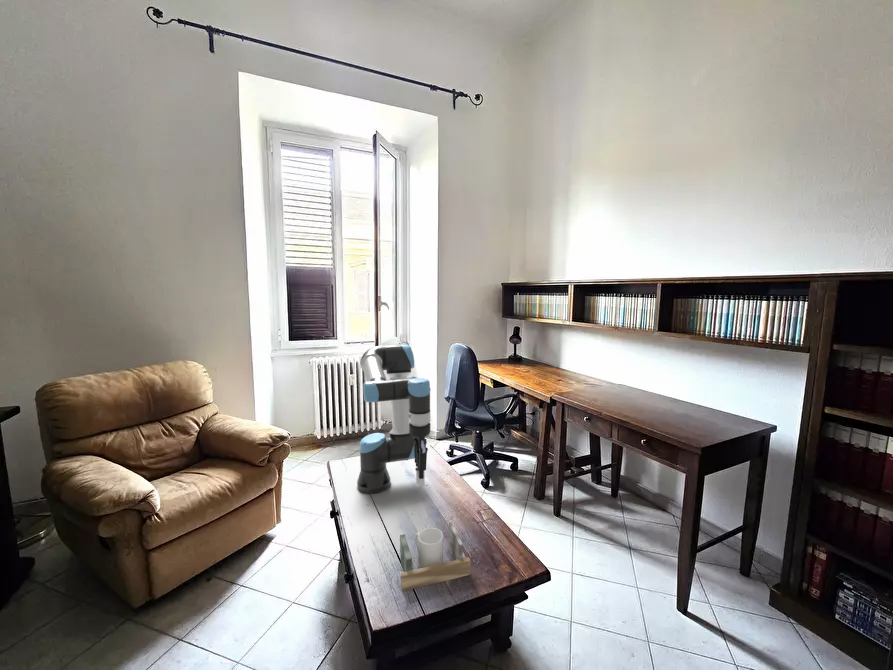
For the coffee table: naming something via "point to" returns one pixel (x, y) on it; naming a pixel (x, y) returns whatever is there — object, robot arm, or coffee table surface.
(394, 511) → the coffee table surface
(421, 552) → the mug
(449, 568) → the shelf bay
